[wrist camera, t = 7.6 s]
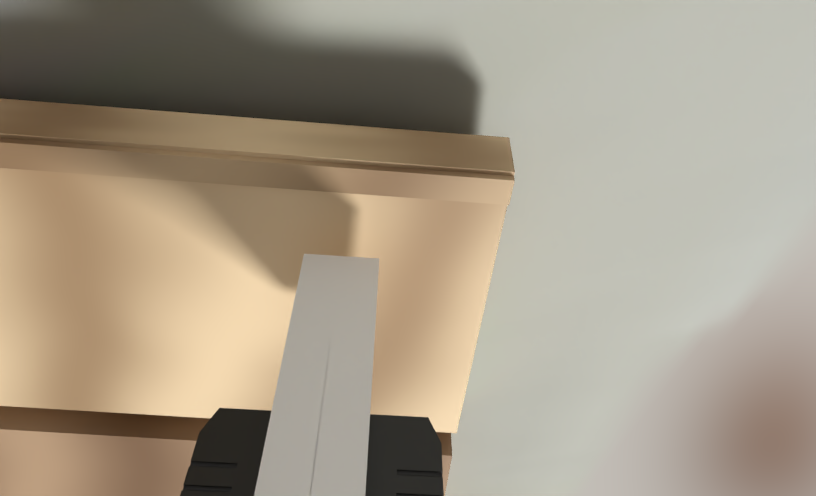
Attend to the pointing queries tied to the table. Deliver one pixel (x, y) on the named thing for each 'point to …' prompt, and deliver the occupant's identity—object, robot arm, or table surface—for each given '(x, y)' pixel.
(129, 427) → the laid strip
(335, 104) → the table surface
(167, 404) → the plank
